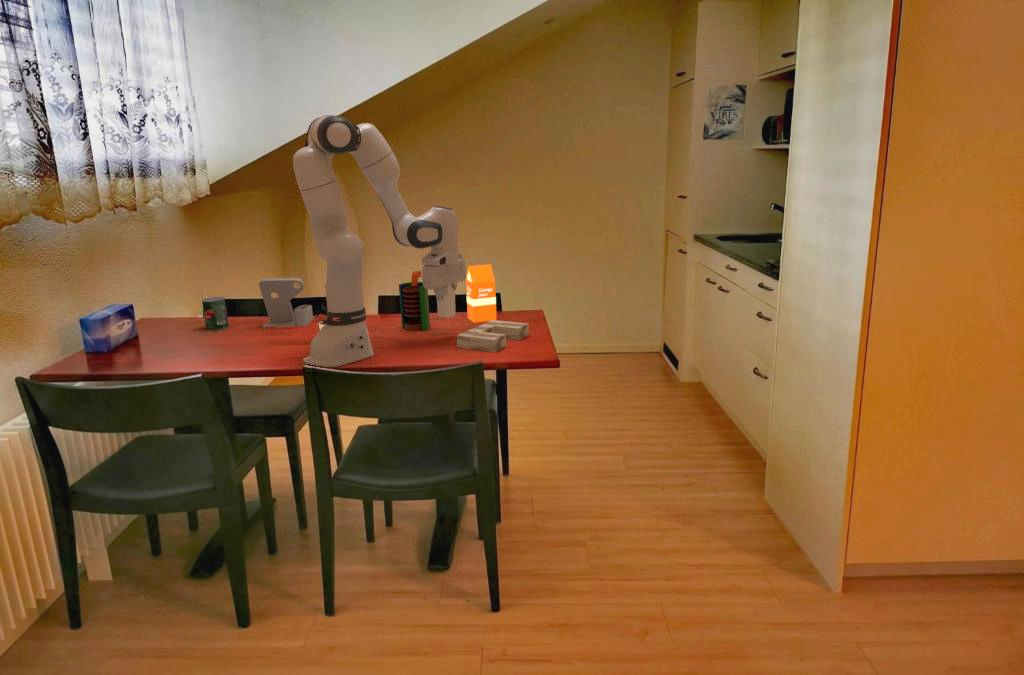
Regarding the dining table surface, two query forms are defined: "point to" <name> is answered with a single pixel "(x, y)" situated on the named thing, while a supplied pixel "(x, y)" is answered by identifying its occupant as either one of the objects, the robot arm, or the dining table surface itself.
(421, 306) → the motor
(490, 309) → the orange juice
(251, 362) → the dining table surface
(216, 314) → the canned tomato
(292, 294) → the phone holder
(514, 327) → the notched board
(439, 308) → the grey rounded cylinder
